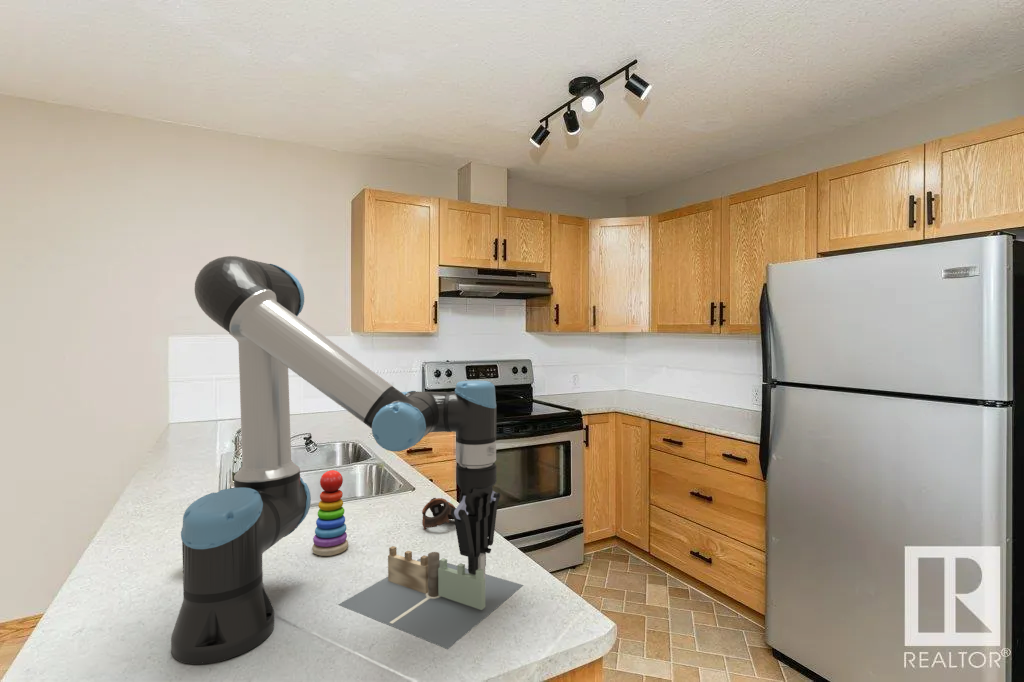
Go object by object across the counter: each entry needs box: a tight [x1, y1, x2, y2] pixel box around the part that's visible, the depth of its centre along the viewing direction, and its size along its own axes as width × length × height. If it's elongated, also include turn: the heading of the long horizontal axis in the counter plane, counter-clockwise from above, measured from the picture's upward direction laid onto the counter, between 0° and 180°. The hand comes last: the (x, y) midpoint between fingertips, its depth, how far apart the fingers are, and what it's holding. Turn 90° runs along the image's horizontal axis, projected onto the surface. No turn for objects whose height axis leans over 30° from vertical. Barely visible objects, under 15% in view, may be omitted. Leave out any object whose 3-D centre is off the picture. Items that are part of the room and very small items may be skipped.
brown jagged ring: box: [421, 497, 456, 530], centre depth 136 cm, size 12×10×8 cm
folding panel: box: [438, 558, 485, 610], centre depth 95 cm, size 10×1×7 cm, turn 58°
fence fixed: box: [387, 545, 441, 597], centre depth 101 cm, size 13×2×8 cm, turn 58°
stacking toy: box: [311, 469, 349, 557], centre depth 120 cm, size 8×8×19 cm
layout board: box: [337, 557, 524, 650], centre depth 98 cm, size 24×26×1 cm
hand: (477, 587), depth 96 cm, fingers closed
